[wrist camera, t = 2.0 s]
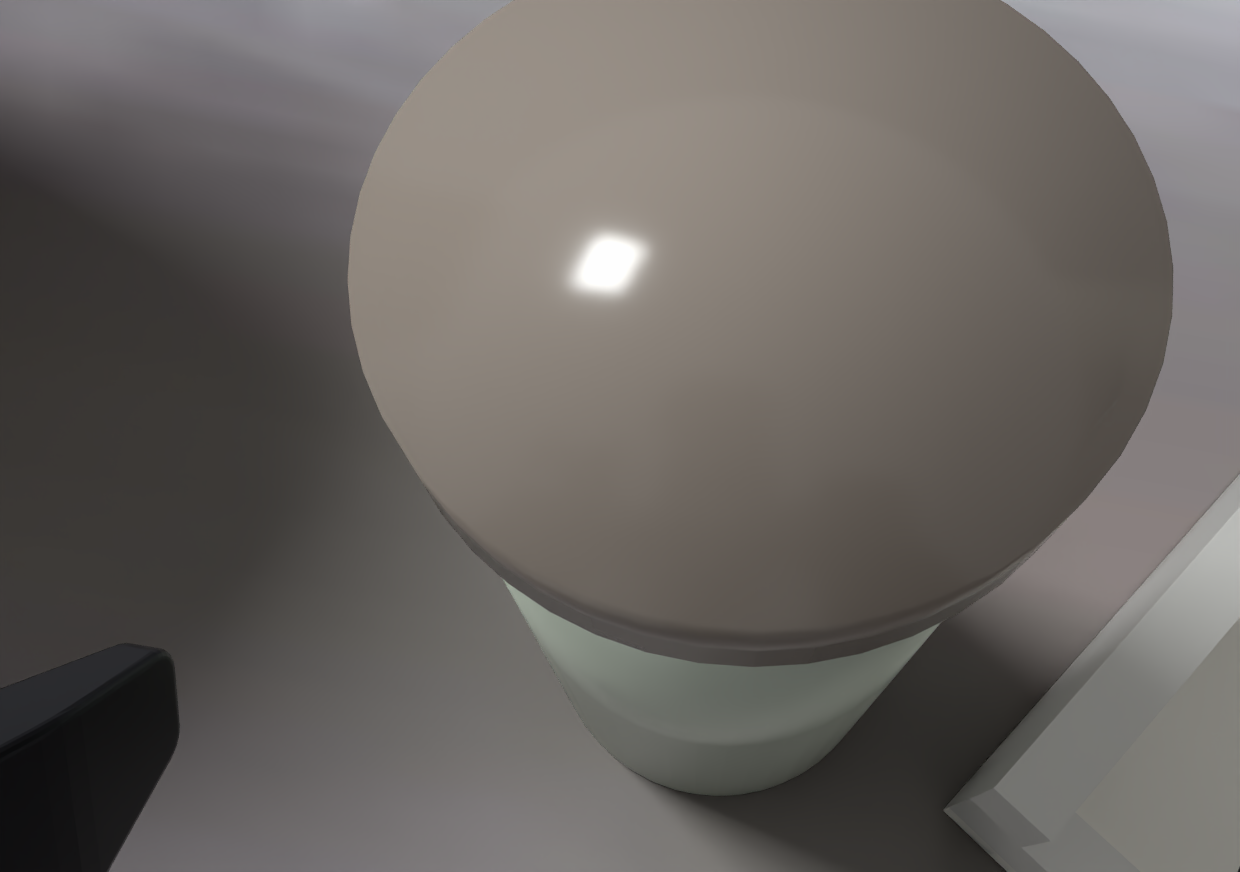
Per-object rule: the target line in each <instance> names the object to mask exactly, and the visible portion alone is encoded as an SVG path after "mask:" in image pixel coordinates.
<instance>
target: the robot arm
mask: <svg viewBox="0 0 1240 872" xmlns="http://www.w3.org/2000/svg"><path fill="white" fill-rule="evenodd" d="M179 728H180V724H179V712H178V701H177V689H176V678H175V667H174V662H173V659H172V657H171V655H170V654H169V653H168V652H166V651H165V650H163V649H159V648H154V647H148V646H142V645H136V644H130V643H124V644H119V645H116V646H113V647H110V648H108V649H105V650H102V651H100V652H97V653H94V654H92V655H89V656H86V657H84V658H81V659H78V660H76V661H73V662H70V663H68V664H65V665H62V666H60V667H57V668H54V669H52V670H49V671H46V672H44V673H41V674H39V675H36V676H33V677H31V678H28V679H25V680H23V681H20V682H17V683H15V684H12V685H9V686H7V687H4V688H1V689H0V872H108V871H109V869H110V867H111V865H112V863H113V862H114V860H115V858H116V856H117V855H118V853H119V851H120V849H121V847H122V846H123V844H124V842H125V840H126V838H127V837H128V835H129V833H130V831H131V829H132V828H133V826H134V824H135V822H136V820H137V819H138V817H139V815H140V813H141V812H142V810H143V808H144V806H145V804H146V803H147V801H148V799H149V797H150V795H151V794H152V792H153V790H154V788H155V786H156V785H157V783H158V781H159V779H160V777H161V776H162V774H163V772H164V770H165V769H166V767H167V765H168V763H169V761H170V760H171V758H172V756H173V754H174V751H175V748H176V746H177V742H178V738H179ZM1238 872H1240V867H1239V869H1238Z"/></svg>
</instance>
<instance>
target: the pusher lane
mask: <svg viewBox="0 0 1240 872" xmlns="http://www.w3.org/2000/svg"><path fill="white" fill-rule="evenodd" d="M943 811H944V812H945V813H946V814H947V815H948V816H949V817H950V818H951V819H952V820H954V821H955V822H956V823H957V824H958V825H959V826H960V827H961V828H962V829H963V830H964V831H965V832H966V833H967V834H968V835H969V836H970V837H971V838H972V839H973V840H974V841H975V842H976V843H978V844H979V845H980V846H981V847H982V848H983V849H984V850H985V851H986V852H987V853H988V854H989V855H990V856H991V857H992V858H993V859H994V860H995V861H996V862H997V863H998V864H999V865H1000V866H1002V867H1003V868H1004V869H1005V870H1006V871H1007V872H1238V869H1239V867H1240V474H1239V475H1238V476H1237V478H1236V479H1235V480H1234V481H1233V482H1232V483H1231V484H1230V486H1229V487H1228V488H1227V489H1226V490H1225V491H1224V492H1223V493H1222V495H1221V496H1220V497H1219V498H1218V499H1217V500H1216V501H1215V503H1214V504H1213V505H1212V506H1211V507H1210V508H1209V509H1208V510H1207V512H1206V513H1205V514H1204V515H1203V516H1202V517H1201V518H1200V519H1199V521H1198V522H1197V523H1196V524H1195V525H1194V526H1193V527H1192V529H1191V530H1190V531H1189V532H1188V533H1187V534H1186V535H1185V536H1184V538H1183V539H1182V540H1181V541H1180V542H1179V543H1178V544H1177V546H1176V547H1175V548H1174V549H1173V550H1172V551H1171V552H1170V553H1169V555H1168V556H1167V557H1166V558H1165V559H1164V560H1163V561H1162V562H1161V564H1160V565H1159V566H1158V567H1157V568H1156V569H1155V570H1154V572H1153V573H1152V574H1151V575H1150V576H1149V577H1148V578H1147V579H1146V581H1145V582H1144V583H1143V584H1142V585H1141V586H1140V587H1139V589H1138V590H1137V591H1136V592H1135V593H1134V594H1133V595H1132V596H1131V598H1130V599H1129V600H1128V601H1127V602H1126V603H1125V604H1124V605H1123V607H1122V608H1121V609H1120V610H1119V611H1118V612H1117V613H1116V615H1115V616H1114V617H1113V618H1112V619H1111V620H1110V621H1109V622H1108V624H1107V625H1106V626H1105V627H1104V628H1103V629H1102V630H1101V632H1100V633H1099V634H1098V635H1097V636H1096V637H1095V638H1094V639H1093V641H1092V642H1091V643H1090V644H1089V645H1088V646H1087V647H1086V648H1085V650H1084V651H1083V652H1082V653H1081V654H1080V655H1079V656H1078V658H1077V659H1076V660H1075V661H1074V662H1073V663H1072V664H1071V665H1070V667H1069V668H1068V669H1067V670H1066V671H1065V672H1064V673H1063V675H1062V676H1061V677H1060V678H1059V679H1058V680H1057V681H1056V682H1055V684H1054V685H1053V686H1052V687H1051V688H1050V689H1049V690H1048V691H1047V693H1046V694H1045V695H1044V696H1043V697H1042V698H1041V699H1040V701H1039V702H1038V703H1037V704H1036V705H1035V706H1034V707H1033V708H1032V710H1031V711H1030V712H1029V713H1028V714H1027V715H1026V716H1025V718H1024V719H1023V720H1022V721H1021V722H1020V723H1019V724H1018V725H1017V727H1016V728H1015V729H1014V730H1013V731H1012V732H1011V733H1010V734H1009V736H1008V737H1007V738H1006V739H1005V740H1004V741H1003V742H1002V744H1001V745H1000V746H999V747H998V748H997V749H996V750H995V751H994V753H993V754H992V755H991V756H990V757H989V758H988V759H987V761H986V762H985V763H984V764H983V765H982V766H981V767H980V768H979V770H978V771H977V772H976V773H975V774H974V775H973V776H972V777H971V779H970V780H969V781H968V782H967V783H966V784H965V785H964V787H963V788H962V789H961V790H960V791H959V792H958V793H957V794H956V796H955V797H954V798H953V799H952V800H951V801H950V802H949V804H948V805H947V806H946V807H945V808H944V809H943Z"/></svg>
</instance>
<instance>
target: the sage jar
mask: <svg viewBox="0 0 1240 872" xmlns="http://www.w3.org/2000/svg"><path fill="white" fill-rule="evenodd" d="M348 291H349V302H350V314H351V325H352V330H353V334H354V338H355V342H356V346H357V350H358V354H359V358H360V362H361V366H362V370H363V373H364V375H365V378H366V380H367V382H368V385H369V387H370V390H371V392H372V394H373V397H374V399H375V402H376V404H377V406H378V409H379V411H380V414H381V416H382V418H383V419H384V421H385V422H386V424H387V426H388V427H389V429H390V431H391V432H392V434H393V436H394V437H395V439H396V440H397V442H398V444H399V445H400V447H401V449H402V450H403V452H404V454H405V455H406V457H407V459H408V460H409V462H410V463H411V465H412V467H413V468H414V470H415V472H416V473H417V475H418V476H419V478H420V480H421V481H422V483H423V485H424V486H425V488H426V489H427V491H428V493H429V494H430V496H431V498H432V499H433V501H434V502H435V504H436V506H437V507H438V509H439V511H440V512H441V514H442V515H443V516H444V518H445V519H446V520H447V521H448V522H449V524H450V525H451V526H452V527H453V528H454V530H455V531H456V532H457V533H458V534H459V536H460V537H461V538H462V539H463V540H464V542H465V543H466V544H467V545H468V546H469V548H470V549H471V550H472V551H473V552H474V553H475V554H476V555H477V556H478V557H480V558H481V559H482V560H483V561H484V562H485V563H486V564H487V565H488V566H489V567H491V568H492V569H493V570H494V571H495V572H496V573H497V574H498V575H499V576H500V577H502V579H503V580H504V582H505V584H506V586H507V588H508V589H509V591H510V593H511V595H512V597H513V598H514V600H515V602H516V604H517V606H518V607H519V609H520V611H521V613H522V615H523V617H524V618H525V620H526V622H527V624H528V626H529V627H530V629H531V631H532V633H533V635H534V636H535V638H536V640H537V642H538V644H539V645H540V647H541V649H542V651H543V653H544V654H545V656H546V658H547V660H548V662H549V664H550V665H551V667H552V669H553V671H554V673H555V674H556V676H557V678H558V680H559V682H560V683H561V685H562V687H563V689H564V691H565V692H566V694H567V696H568V698H569V700H570V701H571V703H572V705H573V707H574V709H575V710H576V712H577V714H578V715H579V717H580V718H581V720H582V722H583V723H584V725H585V727H586V728H587V729H588V730H589V731H590V733H591V734H592V735H593V736H594V738H595V739H596V740H597V741H598V743H599V744H600V745H601V746H603V747H604V748H605V749H606V750H607V751H608V752H609V753H610V754H611V755H612V756H613V757H614V758H615V759H617V760H618V761H620V762H621V763H622V764H624V765H625V766H627V767H628V768H629V769H631V770H632V771H634V772H636V773H637V774H639V775H641V776H643V777H645V778H647V779H649V780H651V781H653V782H655V783H658V784H661V785H663V786H666V787H669V788H671V789H675V790H679V791H684V792H688V793H693V794H700V795H712V796H726V795H741V794H746V793H751V792H757V791H762V790H765V789H768V788H770V787H773V786H776V785H779V784H782V783H784V782H786V781H788V780H790V779H792V778H794V777H796V776H798V775H800V774H802V773H803V772H805V771H806V770H808V769H809V768H811V767H812V766H813V765H815V764H816V763H818V762H819V761H821V760H822V759H823V758H824V757H825V756H826V755H827V754H828V753H829V752H830V751H831V750H832V749H833V748H834V747H836V745H837V744H838V743H839V742H840V741H841V740H842V738H843V737H844V736H845V735H846V734H847V733H848V731H849V730H850V729H851V728H852V727H853V725H854V724H855V723H856V722H857V721H858V720H859V718H860V717H861V716H862V715H863V714H864V713H865V711H866V710H867V709H868V708H869V707H870V705H871V704H872V703H873V702H874V701H875V700H876V698H877V697H878V696H879V695H880V694H881V693H882V691H883V690H884V689H885V688H886V687H887V685H888V684H889V683H890V682H891V681H892V680H893V678H894V677H895V676H896V675H897V674H898V673H899V671H900V670H901V669H902V668H903V667H904V665H905V664H906V663H907V662H908V661H909V660H910V658H911V657H912V656H913V655H914V654H915V653H916V651H917V650H918V649H919V648H920V647H921V646H922V644H923V643H924V642H925V641H926V640H927V638H928V637H929V636H930V635H931V634H932V633H933V631H934V630H935V629H936V628H937V627H938V626H939V624H940V623H941V622H942V621H944V620H946V619H948V618H950V617H952V616H954V615H956V614H958V613H960V612H961V611H963V610H964V609H966V608H967V607H969V606H970V605H972V604H973V603H974V602H976V601H977V600H979V599H980V598H982V597H983V596H985V595H986V594H988V593H989V592H990V591H992V590H993V589H995V588H996V587H998V586H999V585H1001V584H1002V583H1003V582H1004V581H1005V580H1006V579H1007V578H1008V577H1009V576H1010V575H1011V574H1012V573H1014V572H1015V571H1016V570H1017V569H1018V568H1019V567H1020V566H1021V565H1022V564H1023V563H1024V562H1025V561H1026V560H1028V559H1029V558H1030V557H1031V556H1032V555H1033V554H1034V553H1035V552H1036V551H1037V550H1038V549H1039V548H1040V547H1041V546H1042V545H1043V544H1044V543H1045V542H1046V541H1047V540H1048V539H1049V538H1050V536H1051V535H1052V534H1053V533H1054V532H1055V531H1056V530H1057V529H1058V528H1059V527H1060V526H1061V525H1062V524H1063V523H1064V522H1065V521H1066V520H1067V518H1068V517H1069V516H1070V515H1071V514H1072V513H1073V512H1074V511H1075V510H1076V509H1077V508H1078V507H1079V506H1080V505H1081V504H1082V503H1083V502H1084V500H1085V499H1086V498H1087V497H1088V496H1089V495H1090V493H1091V492H1092V491H1093V490H1094V488H1095V487H1096V486H1097V485H1098V483H1099V482H1100V481H1101V480H1102V478H1103V477H1104V476H1105V475H1106V473H1107V472H1108V471H1109V470H1110V468H1111V467H1112V466H1113V464H1114V463H1115V462H1116V461H1117V459H1118V458H1119V457H1120V456H1121V454H1122V452H1123V450H1124V449H1125V447H1126V445H1127V443H1128V441H1129V440H1130V438H1131V436H1132V434H1133V433H1134V431H1135V429H1136V427H1137V425H1138V424H1139V422H1140V420H1141V418H1142V417H1143V415H1144V413H1145V411H1146V409H1147V406H1148V404H1149V401H1150V398H1151V395H1152V393H1153V390H1154V387H1155V384H1156V382H1157V379H1158V376H1159V373H1160V371H1161V368H1162V365H1163V362H1164V356H1165V351H1166V346H1167V340H1168V335H1169V330H1170V324H1171V319H1172V301H1173V263H1172V255H1171V248H1170V241H1169V234H1168V226H1167V221H1166V217H1165V214H1164V211H1163V207H1162V204H1161V201H1160V197H1159V194H1158V191H1157V187H1156V184H1155V181H1154V177H1153V175H1152V173H1151V171H1150V169H1149V167H1148V165H1147V162H1146V160H1145V158H1144V156H1143V154H1142V152H1141V150H1140V147H1139V145H1138V143H1137V141H1136V139H1135V137H1134V135H1133V133H1132V132H1131V130H1130V129H1129V127H1128V126H1127V124H1126V123H1125V121H1124V120H1123V118H1122V117H1121V115H1120V113H1119V112H1118V110H1117V109H1116V107H1115V106H1114V104H1113V103H1112V101H1111V100H1110V98H1109V97H1108V96H1107V94H1106V93H1105V92H1104V91H1103V90H1102V89H1101V87H1100V86H1099V85H1098V84H1097V83H1096V82H1095V80H1094V79H1093V78H1092V77H1091V76H1090V75H1089V73H1088V72H1087V71H1086V70H1085V69H1084V68H1083V66H1082V65H1081V64H1080V63H1079V62H1078V61H1077V60H1076V59H1075V58H1074V57H1073V56H1072V55H1070V54H1069V53H1068V52H1067V51H1066V50H1065V49H1064V48H1063V47H1062V46H1061V45H1059V44H1058V43H1057V42H1056V41H1055V40H1054V39H1053V38H1052V37H1051V36H1050V35H1048V34H1047V33H1046V32H1045V31H1044V30H1043V29H1041V28H1040V27H1038V26H1037V25H1036V24H1034V23H1033V22H1031V21H1030V20H1029V19H1027V18H1026V17H1024V16H1023V15H1022V14H1020V13H1019V12H1017V11H1016V10H1015V9H1013V8H1012V7H1010V6H1009V5H1008V4H1006V3H1004V2H1003V1H1001V0H513V1H512V2H510V3H509V4H507V5H506V6H504V7H503V8H501V9H500V10H498V11H497V12H495V13H494V14H492V15H491V16H489V17H488V18H486V19H485V20H483V21H482V22H481V23H480V24H479V25H477V26H476V27H475V28H474V29H473V30H472V31H470V32H469V33H468V34H467V35H466V36H464V37H463V38H462V39H461V40H460V41H458V42H457V43H456V44H455V45H454V46H452V47H451V48H450V49H449V50H448V52H447V53H446V54H445V55H444V56H443V57H442V58H441V59H440V60H439V61H438V62H437V63H436V64H435V65H434V66H433V67H432V69H431V70H430V71H429V72H428V73H427V74H426V75H425V76H424V77H423V78H422V79H421V80H420V82H419V83H418V85H417V86H416V87H415V89H414V90H413V91H412V93H411V94H410V96H409V97H408V98H407V100H406V101H405V102H404V104H403V105H402V107H401V108H400V109H399V111H398V112H397V113H396V115H395V117H394V119H393V120H392V122H391V124H390V126H389V128H388V130H387V132H386V133H385V135H384V137H383V139H382V141H381V143H380V144H379V146H378V148H377V150H376V152H375V154H374V157H373V159H372V162H371V165H370V167H369V170H368V173H367V175H366V178H365V181H364V183H363V186H362V189H361V191H360V195H359V199H358V204H357V208H356V213H355V217H354V222H353V227H352V231H351V236H350V251H349V266H348Z"/></svg>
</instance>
